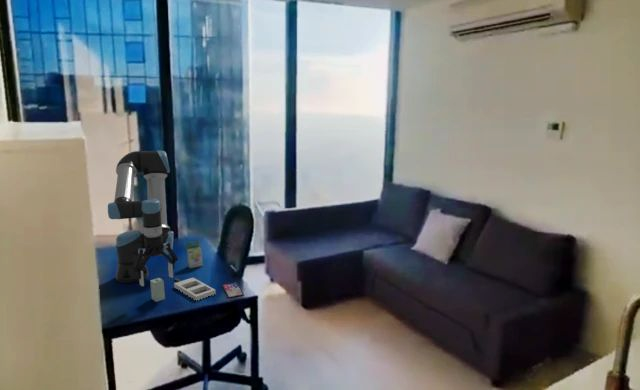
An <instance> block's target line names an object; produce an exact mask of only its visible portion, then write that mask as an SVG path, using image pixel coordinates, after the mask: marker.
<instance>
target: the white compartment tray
mask: <svg viewBox="0 0 640 390" xmlns="http://www.w3.org/2000/svg"><path fill="white" fill-rule="evenodd" d="M174 280H175V281H176V282H174V283H173V286H174V288H175V289H176V290H177V289H178V291H179V290H180V291H179V292H181V293H182V292H183V293H182V294H184V295H186V296H187V295H188V296H187V297H189V298H190V297H191V299H192V298H193V299H192V300H193V301H195V300H196V301H195V302H198V301H200V299H201V300H204V299H206V297H207V298H209V297H208V296H210V297H212V296H215V295H216V290H217V289H215V288H213V287H211V286H210V285H207V284H206V283H204V282H202V281H200V280H198V279H197V278H195V277H191V278H190V277H189V278H188V279H183V280H180V279H179V278H177V277H175V278H174ZM214 294H215V295H214ZM211 295H212V296H211ZM203 298H204V299H203ZM197 300H198V301H197Z"/></svg>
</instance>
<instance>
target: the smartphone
mask: <svg viewBox="0 0 640 390" xmlns="http://www.w3.org/2000/svg"><path fill="white" fill-rule="evenodd" d="M221 287H222V290H223V291H224V293H225V295H226V297H227V299H232V298H233V299H234V298H237V297H238V298H239V297H244V296H245V294H244V292H243V290H242V289H241V287H240V285H239V283H238V282H231V283H230V282H229V283H225V284H222V285H221Z"/></svg>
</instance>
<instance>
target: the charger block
mask: <svg viewBox="0 0 640 390" xmlns="http://www.w3.org/2000/svg"><path fill="white" fill-rule="evenodd" d="M149 281H150V284H149V285H150V294H151V300H152V301H154V302H156V303H158V302H160V301H163V300H166V295H165V294H166V293H165V280H164V279H162V278H160V277H158V278H154V279H150V280H149Z"/></svg>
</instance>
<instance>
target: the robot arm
mask: <svg viewBox="0 0 640 390" xmlns="http://www.w3.org/2000/svg"><path fill="white" fill-rule="evenodd" d="M115 169H116V170H115V172H116V175H117V176H116V177H117V178H116V187H115V192H114V201H113V202H109V203H108V204H107V215H108V218H109V219H110V220H125V219H140V218H141V219H142V224H143V227H142V229H143V233H142V231H141V230H139V229H138V230H137V229H131V230H128V231H125V232H122V233H120V234H119V235H117V237H116V244H115V247H116V253H117V269H116V273H115V281H116V282H118V283H121V284H133V283H138V282H139V285H140V286H141V287H144V286H145V280H147V278H148V277H149V270H148V267H147V266H146V264H147V262H148V261H149V260H150V259H151V258H152V257H156V256H162V257H163V258H165V259H166V260H167V261H168V262H167V266H168V268H167V269H168V276H169V277H170V278H171V279H172V278H174V270H175V264H176V262H177V261H179V258H178V257H177V255H176V254H175V252H174V250H173V246H174V231H172V230H171V227H170V226H169V225H168V220H167V217H168V215H167V202H166V201H167V200H166V183H165V182H166V181H165V179H166V178H167V177H168V174H169V173H170V172H171V171H170V169H171V168H170V165H169V160H168V155H167V152H166V151H164V150H158V149H157V150H139V151H138V150H137V151H136V150H135V151H131V152H128V153H127V154H125V155H124V156H123V157H122V158H120V160H119V161H118V162H117V165H116V168H115ZM137 175H142V176H143V178H144V179H145V180H146V190H147V199H145V200H133V197H134V189H135V188H134V186H135V185H134V184H135V177H136V176H137ZM169 255H170V256H169Z"/></svg>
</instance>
